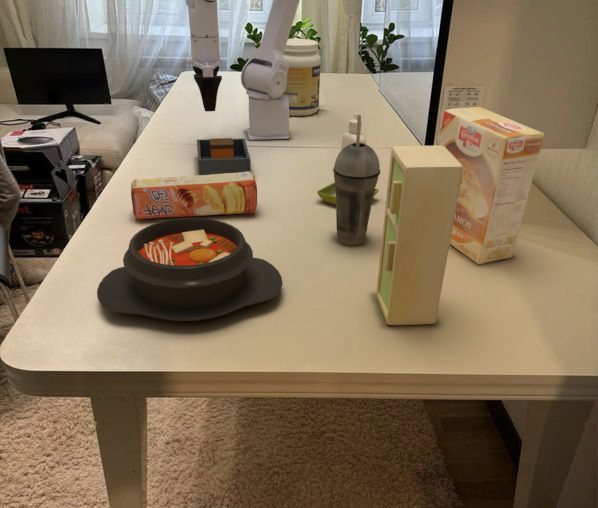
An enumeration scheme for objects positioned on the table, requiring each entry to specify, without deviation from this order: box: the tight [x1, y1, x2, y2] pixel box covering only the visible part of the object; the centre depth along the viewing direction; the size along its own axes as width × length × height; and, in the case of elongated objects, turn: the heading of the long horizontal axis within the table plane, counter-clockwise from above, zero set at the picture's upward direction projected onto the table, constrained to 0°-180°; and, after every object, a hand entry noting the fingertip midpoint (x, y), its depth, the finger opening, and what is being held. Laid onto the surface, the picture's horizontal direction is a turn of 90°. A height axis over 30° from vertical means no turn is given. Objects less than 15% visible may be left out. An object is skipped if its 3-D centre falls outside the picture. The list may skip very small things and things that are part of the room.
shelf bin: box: [196, 137, 252, 175], centre depth 123 cm, size 10×13×4 cm
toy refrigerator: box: [375, 145, 463, 326], centre depth 75 cm, size 8×7×21 cm
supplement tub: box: [282, 38, 322, 117], centre depth 157 cm, size 12×12×17 cm
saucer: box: [316, 181, 380, 206], centre depth 111 cm, size 9×9×2 cm
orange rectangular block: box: [209, 137, 234, 159], centre depth 123 cm, size 5×4×5 cm
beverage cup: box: [332, 114, 381, 246], centre depth 92 cm, size 7×7×20 cm
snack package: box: [130, 171, 258, 220], centre depth 103 cm, size 21×7×7 cm, turn 100°
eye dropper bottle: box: [341, 112, 367, 150], centre depth 120 cm, size 4×6×12 cm
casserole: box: [96, 217, 283, 322], centre depth 80 cm, size 25×19×8 cm
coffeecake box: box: [438, 106, 545, 265], centre depth 93 cm, size 15×7×20 cm, turn 23°
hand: (209, 106), depth 128 cm, fingers open, 7 cm apart
